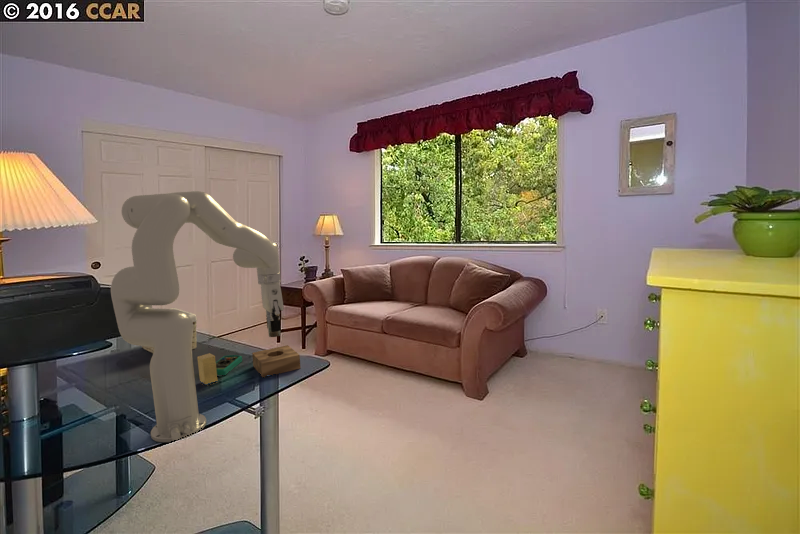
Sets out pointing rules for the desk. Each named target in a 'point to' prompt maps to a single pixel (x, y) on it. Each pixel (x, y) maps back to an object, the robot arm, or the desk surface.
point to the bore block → (276, 360)
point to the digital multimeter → (227, 364)
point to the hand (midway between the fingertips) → (274, 329)
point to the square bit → (207, 368)
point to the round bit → (271, 334)
